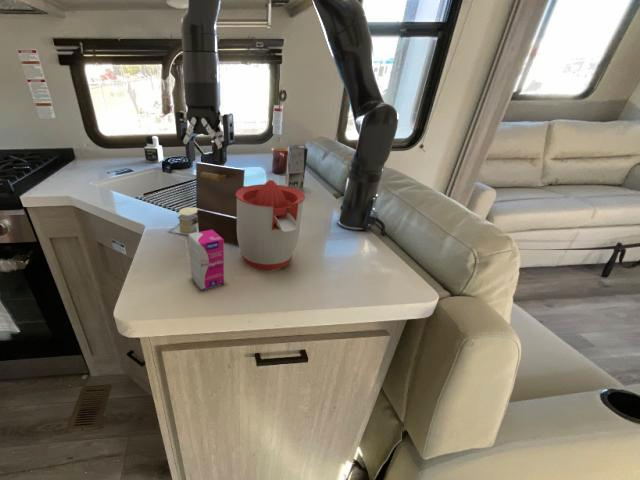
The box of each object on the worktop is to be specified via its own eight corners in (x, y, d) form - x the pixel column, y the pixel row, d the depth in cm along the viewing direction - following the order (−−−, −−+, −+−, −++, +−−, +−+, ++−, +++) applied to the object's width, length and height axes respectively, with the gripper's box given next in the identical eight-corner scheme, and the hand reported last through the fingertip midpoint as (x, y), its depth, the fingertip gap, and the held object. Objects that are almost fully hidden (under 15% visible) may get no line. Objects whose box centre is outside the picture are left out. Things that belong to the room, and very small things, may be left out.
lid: (197, 162, 84) (185, 163, 80) (244, 169, 79) (233, 171, 75) (197, 207, 90) (186, 211, 86) (241, 217, 85) (231, 221, 81)
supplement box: (201, 292, 70) (198, 244, 64) (191, 279, 75) (186, 233, 68) (225, 285, 73) (224, 238, 66) (213, 273, 77) (211, 228, 70)
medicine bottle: (146, 162, 170) (142, 137, 163) (151, 159, 176) (147, 134, 169) (158, 162, 169) (155, 137, 162) (163, 159, 175) (160, 135, 168)
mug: (269, 169, 160) (270, 147, 154) (287, 169, 160) (289, 147, 154) (271, 176, 150) (272, 152, 144) (289, 176, 150) (292, 152, 144)
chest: (219, 223, 103) (218, 198, 98) (258, 232, 97) (259, 207, 92) (198, 235, 95) (197, 209, 90) (240, 246, 89) (240, 219, 85)
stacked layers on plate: (196, 236, 94) (194, 218, 91) (169, 232, 97) (167, 214, 93) (211, 224, 101) (210, 207, 98) (186, 220, 104) (184, 203, 101)
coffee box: (303, 192, 130) (308, 148, 120) (287, 192, 130) (291, 148, 120) (300, 186, 137) (304, 144, 128) (284, 185, 137) (288, 144, 128)
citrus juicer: (254, 285, 73) (258, 196, 61) (226, 252, 86) (225, 174, 74) (312, 272, 78) (326, 188, 66) (277, 243, 91) (284, 168, 79)
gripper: (240, 80, 67) (240, 163, 76) (185, 79, 72) (191, 157, 82) (220, 80, 61) (223, 170, 71) (163, 79, 67) (172, 162, 76)
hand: (206, 163), depth 76 cm, fingers open, 8 cm apart
